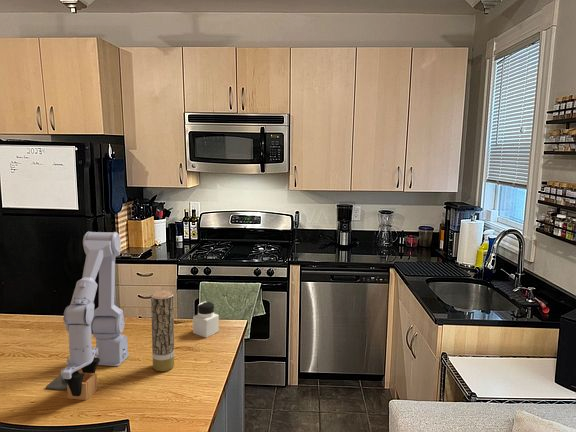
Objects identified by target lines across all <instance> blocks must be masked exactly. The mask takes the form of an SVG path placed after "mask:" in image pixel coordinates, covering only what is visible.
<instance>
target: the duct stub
mask: <svg viewBox="0 0 576 432" xmlns="http://www.w3.org/2000/svg"><path fill="white" fill-rule="evenodd" d="M66 367H67V366H65V367H63V368H61V369H60V374H59V375H57V377H55V378H54V379H52V380H51V381H50V382H49V383H48V384H47V385H45V389H47V390H58V391H67V383H66V381H65V380H64V379H63V378H62V372H63V371H64V370H65V369H66Z"/></svg>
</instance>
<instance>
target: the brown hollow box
mask: <svg viewBox="0 0 576 432" xmlns="http://www.w3.org/2000/svg"><path fill="white" fill-rule="evenodd" d="M78 372H79V373H83V374H85V375H84V377H83V380H82V387H81V395H80V396H72V393H71V390H70V388H69V386H68V384H67V390H66V392H67V399H68V400H80V401H87V400H88V399H90V398H91V396H92V395H93V394H95V392H96V391H97V390H98V375H97V374H98V373H96V372H95V373H84V372H82V371H81V372H80V371H78Z"/></svg>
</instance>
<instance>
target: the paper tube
mask: <svg viewBox="0 0 576 432" xmlns="http://www.w3.org/2000/svg"><path fill="white" fill-rule="evenodd" d="M150 295H151V296H150V305H151V341H152V342H151V344H152V345H151V346H152V347H151V348H152V351H151V352H152V368H153V370H154V371H156V372H167V371H170V370H172V369H173V368H174V366H175V318H174V317H175V316H174V314H175V313H174V312H175V310H174V308H175V307H174V292H173V291H171V290H164V289H163V290H157V291H153V292H152V293H151V294H150Z"/></svg>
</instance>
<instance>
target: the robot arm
mask: <svg viewBox="0 0 576 432" xmlns="http://www.w3.org/2000/svg"><path fill="white" fill-rule="evenodd" d="M121 242H122V241H121V237H120V234H119V233H118V232H117V231H113V232H109V231H108V232H105V231H103V232H102V231H97V232H96V231H87V232H86V233H85V234H84V235H83V239H82V246H83V250H84V253H85V262H84V266H83V272H82V278H81V279H79V280H77V281H76V283H75V288H74V290H73V293H72V298H71V301H70V304H69V305H67V306H66V307H65V309H64V312H63V323H64V325H65V331H66V332H68V333H67V334H68V346H69V349H68V351H69V357H67V359H66V363H67V365H66V366H65V367H66V369H65V370H64V371H63V372H62V378H63V379H64V380H65V381H66V383H67V384H68V386H69V388H70V390H71V393H72V396H80V395H81V387H82V380H83V377H84V375H85V374H83V373H79V372H80V371H79V370H81V372H84V373H96V370H97V367H98V366H110V367H119V366H120V365H121V364H122V363H124V361H125V360H126V359H127V358H128V357H129V356H130V354H129V344H128V343H129V342H128V340H129V339H128V337H127V335H124V334H122V333H123V332H124V329H125V318H124V310H123V309H121V308H120V307H118V306H117V305H116V304H115V301H116V299H115V298H116V297H115V296H116V295H115V292H116V281H115V280H116V257H119V256H120V255H121V248H122V247H121V244H122V243H121ZM97 276H98V283H97V282H96V278H97ZM97 290H98V307H96V308H95V298H96V293H97ZM92 335H93V338H95V347H93V345H92Z"/></svg>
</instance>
